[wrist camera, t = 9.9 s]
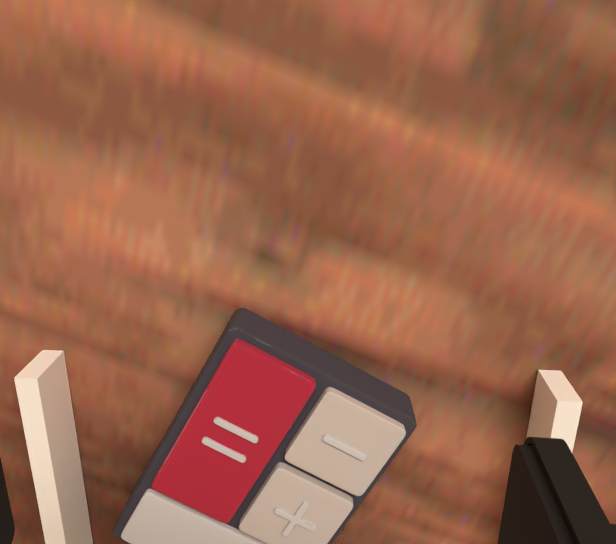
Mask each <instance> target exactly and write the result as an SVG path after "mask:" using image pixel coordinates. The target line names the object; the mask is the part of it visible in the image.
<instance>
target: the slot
mask: <svg viewBox="0 0 616 544" xmlns="http://www.w3.org/2000/svg"><path fill="white" fill-rule="evenodd" d="M14 379H15V385H16V390H17V395H18V401H19V406H20V411H21V416H22V422H23V427H24V432H25V437H26V443H27V448H28V453H29V459H30V464H31V469H32V474H33V480H34V485H35V490H36V496H37V501H38V506H39V511H40V517H41V522H42V527H43V533H44V538H45V543H46V544H93V540H92V533H91V527H90V520H89V513H88V507H87V500H86V494H85V487H84V481H83V474H82V467H81V461H80V454H79V448H78V441H77V434H76V428H75V421H74V415H73V408H72V402H71V395H70V388H69V382H68V375H67V369H66V362H65V355H64V351H58V350H42V351H41V352H40V353H39V354H38V355H37V356H36V357H35V358H34V359H33V360H32V361H31V362H30V363H29V364H28V365H27V366H26V367H25V368H24V369H23V370H22V371H21V372H20V373H19V374H18V375H17V376H16V377H15V378H14ZM582 403H583V402H582V400H581V399H580V397H579V396H578V394H577V393H576V392H575V390H574V389H573V387H572V386H571V384H570V383H569V381H568V380H567V379H566V377H565V376H564V374H563V373H562V371H557V370H538V374H537V379H536V385H535V391H534V397H533V402H532V408H531V414H530V420H529V425H528V431H527V437H526V439H527V438H528V437H542V438H558V439H563V440H564V441H565V442H566V443H567V445H568V447H569V449H570V450H571V452H572V451H573V446H574V441H575V437H576V432H577V427H578V422H579V418H580V413H581V408H582Z"/></svg>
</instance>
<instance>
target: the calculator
mask: <svg viewBox="0 0 616 544" xmlns="http://www.w3.org/2000/svg"><path fill="white" fill-rule="evenodd" d="M415 428H416V419H415V415H414V412H413V408H412V404H411V400H410V397H409V396H408V395H407V394H405V393H403V392H402V391H400V390H398V389H396V388H394V387H392V386H390V385H388V384H387V383H385V382H383V381H381V380H379V379H377V378H375V377H373V376H371V375H370V374H368V373H366V372H364V371H362V370H360V369H358V368H356V367H354V366H353V365H351V364H349V363H347V362H345V361H343V360H341V359H339V358H337V357H336V356H334V355H332V354H330V353H328V352H326V351H324V350H322V349H321V348H319V347H317V346H315V345H313V344H311V343H309V342H307V341H305V340H304V339H302V338H300V337H298V336H296V335H294V334H292V333H290V332H288V331H287V330H285V329H283V328H281V327H279V326H277V325H275V324H273V323H272V322H270V321H268V320H266V319H264V318H262V317H260V316H258V315H256V314H255V313H253V312H251V311H249V310H247V309H244V308H240V309H237V310H236V311H235V313H234V314H233V316H232V317H231V319H230V321H229V323H228V324H227V326H226V328H225V330H224V331H223V333H222V335H221V337H220V338H219V340H218V342H217V344H216V346H215V347H214V349H213V351H212V353H211V354H210V356H209V358H208V360H207V361H206V363H205V365H204V367H203V368H202V370H201V372H200V374H199V375H198V377H197V379H196V381H195V382H194V384H193V386H192V388H191V390H190V391H189V393H188V395H187V397H186V398H185V400H184V402H183V404H182V405H181V407H180V409H179V411H178V412H177V414H176V416H175V418H174V420H173V421H172V423H171V425H170V427H169V428H168V430H167V432H166V434H165V435H164V437H163V439H162V441H161V442H160V444H159V446H158V448H157V449H156V451H155V452H154V454H153V456H152V458H151V459H150V461H149V463H148V465H147V466H146V468H145V470H144V472H143V473H142V475H141V477H140V479H139V480H138V482H137V484H136V486H135V487H134V489H133V491H132V493H131V495H130V497H129V499H128V501H127V503H126V505H125V508H124V510H123V512H122V514H121V516H120V518H119V520H118V522H117V524H116V526H115V529H114V535H115V536H116V537H117V538H118V539H120V540H122V541H124V542H126V543H129V544H332V542H333V541H334V540H335V538H336V537H337V536H338V534H339V533H340V531H341V530H342V529H343V527H344V526H345V525H346V523H347V522H348V520H349V519H350V518H351V516H352V515H353V514H354V512H355V511H356V509H357V508H358V507H359V505H360V504H361V503H362V501H363V500H364V498H365V497H366V496H367V494H368V493H369V492H370V490H371V489H372V487H373V486H374V485H375V483H376V482H377V481H378V479H379V478H380V476H381V475H382V474H383V472H384V471H385V470H386V468H387V467H388V465H389V464H390V463H391V461H392V460H393V459H394V457H395V456H396V454H397V453H398V452H399V450H400V449H401V448H402V446H403V445H404V443H405V442H406V441H407V439H408V438H409V437H410V435H411V434H412V432H413V431H414V430H415Z"/></svg>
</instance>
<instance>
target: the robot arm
mask: <svg viewBox="0 0 616 544" xmlns="http://www.w3.org/2000/svg"><path fill="white" fill-rule="evenodd" d="M14 530H15V528H14V521H13V517H12V512H11V507H10V502H9V497H8V492H7V488H6V483H5V478H4V473H3V468H2V464H1V459H0V544H11V543H12V540H13V536H14ZM498 544H616V525H614V524H610V523H609V521H608V519H607V517H606V516H605V514H604V512H603V510H602V508H601V506H600V504H599V503H598V501H597V499H596V497H595V495H594V493H593V491H592V490H591V488H590V486H589V484H588V482H587V480H586V478H585V477H584V475H583V473H582V471H581V469H580V467H579V465H578V463H577V462H576V460H575V458H574V456H573V454H572V452H571V450H570V449H569V447H568V445H567V443H566V442H565V441H564V440H563V439H558V438H542V437H528V438H527V439H526V440H525V443H524V445H515V447H514V449H513V454H512V460H511V466H510V472H509V478H508V484H507V490H506V496H505V503H504V509H503V515H502V521H501V527H500V533H499V539H498Z"/></svg>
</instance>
